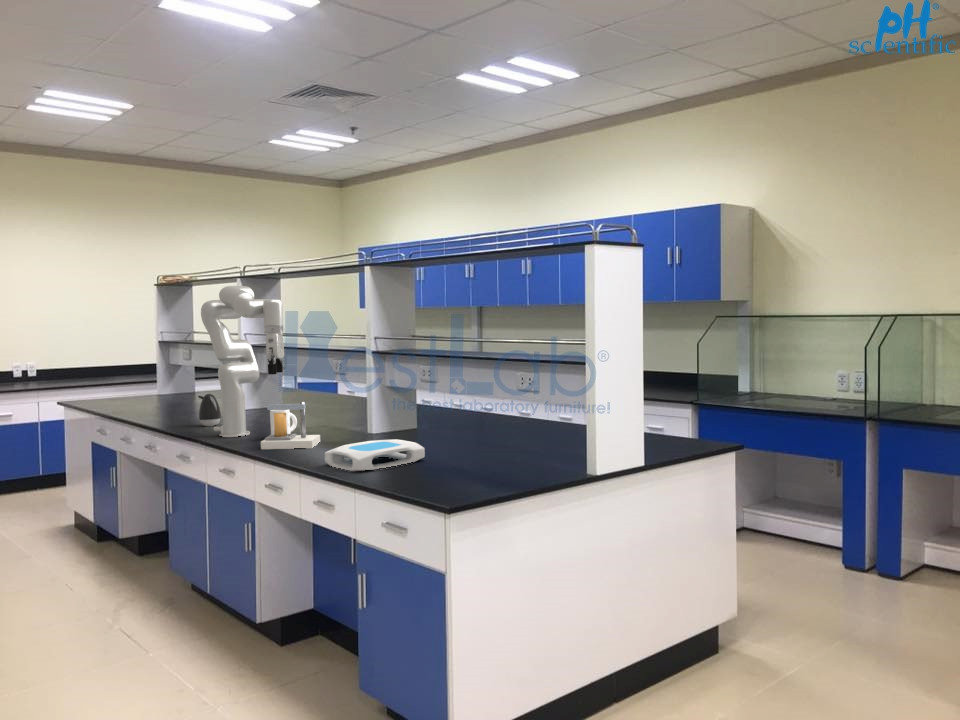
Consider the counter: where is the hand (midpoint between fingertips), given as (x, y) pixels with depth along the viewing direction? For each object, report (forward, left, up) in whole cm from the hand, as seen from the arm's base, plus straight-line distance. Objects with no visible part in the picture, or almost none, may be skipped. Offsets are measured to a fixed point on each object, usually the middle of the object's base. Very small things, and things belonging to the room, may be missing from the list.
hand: (275, 373), depth 315 cm
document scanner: (+46, -44, -29) cm, 70 cm away
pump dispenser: (-47, +54, -29) cm, 77 cm away
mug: (-1, +15, -29) cm, 32 cm away
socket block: (+7, -6, -28) cm, 30 cm away
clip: (+6, -6, -25) cm, 26 cm away
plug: (+3, -6, -25) cm, 26 cm away
